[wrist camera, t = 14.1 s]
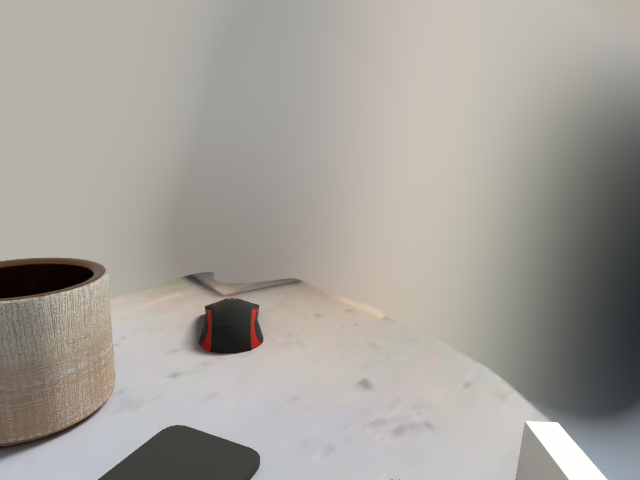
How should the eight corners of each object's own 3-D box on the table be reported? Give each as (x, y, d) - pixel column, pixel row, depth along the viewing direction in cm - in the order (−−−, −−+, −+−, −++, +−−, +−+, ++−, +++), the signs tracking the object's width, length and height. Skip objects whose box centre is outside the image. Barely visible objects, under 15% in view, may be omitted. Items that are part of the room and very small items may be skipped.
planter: (-104, 470, 25) (-132, 310, 23) (-27, 376, 35) (-42, 259, 33) (106, 437, 29) (98, 296, 27) (122, 360, 39) (116, 254, 37)
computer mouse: (259, 312, 52) (260, 279, 51) (265, 354, 42) (266, 314, 41) (204, 313, 51) (204, 280, 50) (195, 357, 40) (195, 316, 40)
